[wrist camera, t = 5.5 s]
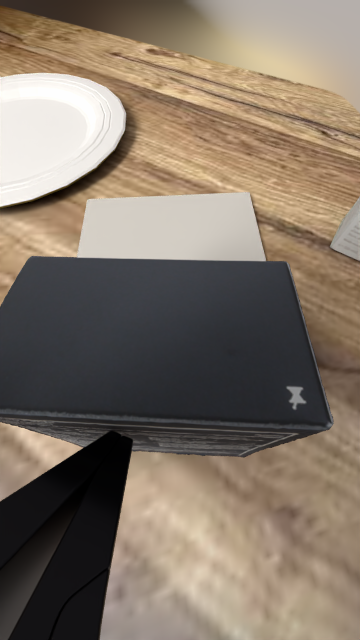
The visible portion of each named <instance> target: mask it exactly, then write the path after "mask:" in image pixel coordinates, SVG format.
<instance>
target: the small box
mask: <svg viewBox="0 0 360 640" xmlns="http://www.w3.org/2000/svg"><path fill="white" fill-rule="evenodd" d="M0 422H2V423H6V424H10V425H14V426H18V427H21V428H25V429H28V430H30V431H35V432H38V433H41V434H45V435H48V436H51V437H54V438H58V439H61V440H65V441H67V442H70V443H73V444H75V445H78V446H80V447H86V446H87V445H89V444H90V443H92V442H94V441H95V440H97V439H98V438H100V437H101V436H103V435H104V434H106V433H108V432H109V431H115V432H117V433H120V434H121V435H122V436H127V437H129V438H132V439H133V446H132V451H148V452H165V453H176V454H187V455H190V454H195V455H202V456H205V455H211V456H238V457H246V456H248V455H251V454H252V453H255V452H258V451H260V450H264V449H266V448H272V447H274V446H278V445H280V444H284V443H288V442H291V441H295V440H296V439H301V438H304V437H307V436H309V435H313V434H317V433H319V432H322V431H326V430H329V429H330V428H331V426H332V425H333V424H334V423H333V417H332V414H331V411H330V407H329V404H328V401H327V398H326V394H325V391H324V388H323V385H322V381H321V377H320V373H319V369H318V366H317V363H316V359H315V355H314V351H313V348H312V344H311V341H310V337H309V334H308V330H307V327H306V323H305V318H304V315H303V312H302V308H301V305H300V300H299V298H298V294H297V290H296V287H295V283H294V280H293V276H292V273H291V270H290V266H289V264H288V263H287V262H284V261H220V260H171V259H120V258H78V257H41V256H32V257H30V258H29V259H28V260H27V262H26V263H25V265H24V266H23V268H22V270H21V271H20V273H19V274H18V276H17V278H16V280H15V282H14V283H13V285H12V286H11V288H10V290H9V292H8V294H7V295H6V297H5V299H4V301H3V303H2V304H1V306H0Z"/></svg>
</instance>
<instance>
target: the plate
mask: <svg viewBox="0 0 360 640" xmlns="http://www.w3.org/2000/svg"><path fill="white" fill-rule="evenodd" d="M125 128H126V112H125V110H124V107H123V105H122V103H121V101H120V99H119V98H118V97H117V96H116V95H115V94H113V93H112V92H111V91H110V90H109V89H108V88H106V87H104V86H102V85H100V84H98V83H95V82H93V81H91V80H89V79H85V78H80V77H76V76H72V75H66V74H52V73H34V74H18V75H12V76H6V77H0V208H4V207H9V206H13V205H17V204H22V203H26V202H31V201H34V200H37V199H39V198H42V197H44V196H47V195H49V194H51V193H54V192H56V191H59V190H61V189H64V188H66V187H68V186H70V185H72V184H73V183H75V182H76V181H78V180H80V179H81V178H83V177H84V176H86V175H88V174H89V173H91V172H92V171H94V170H95V169H97V168H98V167H99V166H100V165H101V164H102V163H103V162H104V161H105V160H106V159H107V158H108V157H109V156H110V155H111V154H112V153H113V152H114V151H115V150H116V148H117V146H118V144H119V142H120V141H121V139H122V137H123V135H124V133H125Z"/></svg>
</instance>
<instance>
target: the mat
mask: <svg viewBox="0 0 360 640" xmlns="http://www.w3.org/2000/svg"><path fill="white" fill-rule="evenodd" d="M77 257H78V258H120V259H171V260H220V261H266V258H265V254H264V250H263V246H262V242H261V238H260V234H259V230H258V226H257V222H256V217H255V213H254V209H253V205H252V201H251V197H250V193H249V192H242V193H219V194H196V195H173V196H150V197H127V198H104V199H88V200H87V205H86V210H85V216H84V221H83V227H82V232H81V238H80V243H79V248H78V254H77Z"/></svg>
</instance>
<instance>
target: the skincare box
mask: <svg viewBox="0 0 360 640" xmlns="http://www.w3.org/2000/svg"><path fill="white" fill-rule="evenodd" d="M330 247H331V248H332V249H334V250H336V251H338V252H341V253H343V254H345V255H347V256H350V257H352V258H354V259H356V260H359V261H360V197H359V199H358V200H357V201H356V203H355V204H354V205H353V207H352V208H351V209H350V211H349V212H348V213H347V214H346V216H345V217H344V218H343V219H342V221H341V223H340V225H339V227H338V230H337V232H336V234H335V236H334V238H333V241H332V243H331V246H330Z"/></svg>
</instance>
